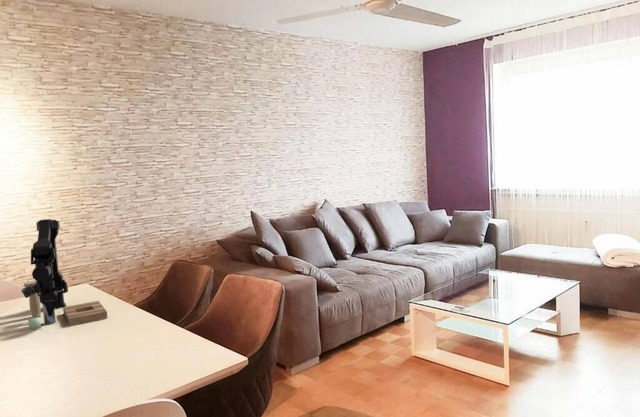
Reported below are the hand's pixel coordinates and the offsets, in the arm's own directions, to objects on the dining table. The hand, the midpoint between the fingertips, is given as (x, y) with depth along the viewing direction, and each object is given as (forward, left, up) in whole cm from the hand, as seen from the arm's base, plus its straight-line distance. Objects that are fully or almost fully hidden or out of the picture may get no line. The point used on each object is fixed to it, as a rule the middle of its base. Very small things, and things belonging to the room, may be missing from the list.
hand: (49, 313), depth 196 cm
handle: (-14, -4, -4) cm, 15 cm away
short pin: (+3, -5, -4) cm, 7 cm away
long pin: (0, 0, -4) cm, 4 cm away
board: (0, +13, -4) cm, 14 cm away
